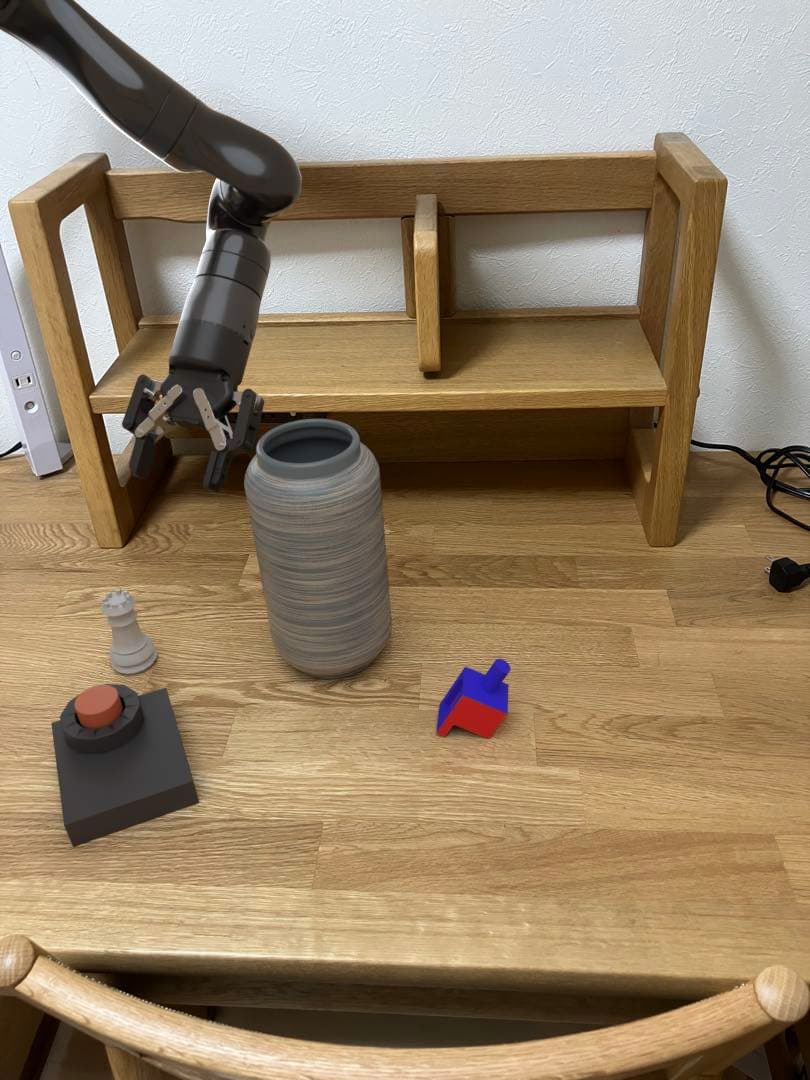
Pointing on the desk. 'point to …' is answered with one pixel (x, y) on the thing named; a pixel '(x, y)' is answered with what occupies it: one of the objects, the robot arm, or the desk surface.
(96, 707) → the button
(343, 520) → the vase
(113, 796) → the button box
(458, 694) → the toy building block
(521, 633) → the desk surface
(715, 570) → the desk surface
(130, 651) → the rook chess piece
